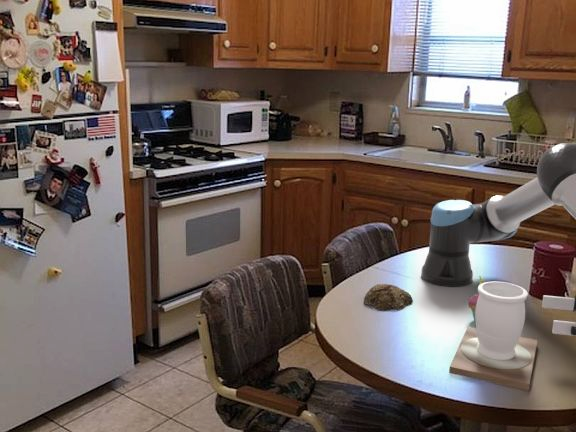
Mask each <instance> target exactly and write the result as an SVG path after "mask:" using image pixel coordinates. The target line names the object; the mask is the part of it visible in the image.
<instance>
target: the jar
mask: <svg viewBox="0 0 576 432" xmlns="http://www.w3.org/2000/svg"><path fill="white" fill-rule="evenodd" d="M477 292H478V293H477V294H480V295H479V297H478V300H477V304H476V311H475V321H476V322H475V321H474V322H475V328H476V334H477V338H478V341H479V343H478V345H477V350H478V352H479V353H480V354H482V355H483V356H485V357H488V358H491V359H495V360H508V359H511V358H513V357H514V356H515V355H516V352H515V349H514V348H515V347H516V345H517V343H518V341H519V339H520V337H522V336H521V335H522V331H523V329H524V326H525V320H526V302H525V301H526V300H527V298H528V295H529V294H528V291H527V290H526V289H525V288H524V287H522V286H521V285H517V284H516V283H511V282H506V281H499V280H498V281H497V280H496V281H494V280H492V281H485V282H482V283H481V284H480V283H479V285H478V287H477Z"/></svg>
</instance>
